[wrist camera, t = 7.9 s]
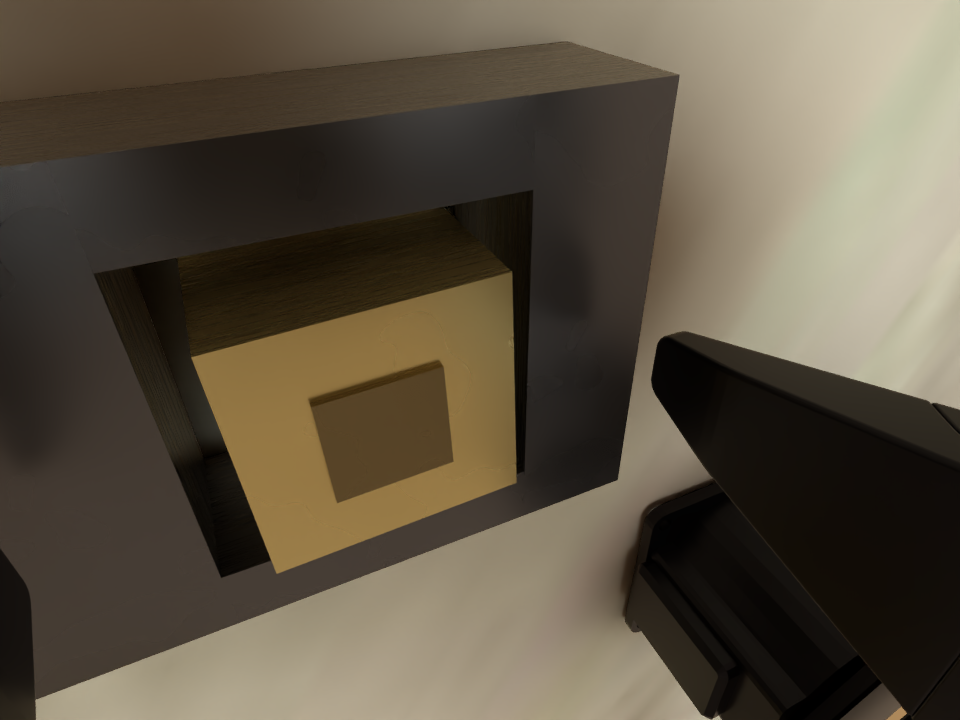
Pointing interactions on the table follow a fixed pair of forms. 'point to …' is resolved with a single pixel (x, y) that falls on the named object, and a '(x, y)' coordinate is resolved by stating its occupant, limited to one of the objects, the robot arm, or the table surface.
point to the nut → (356, 375)
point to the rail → (276, 214)
